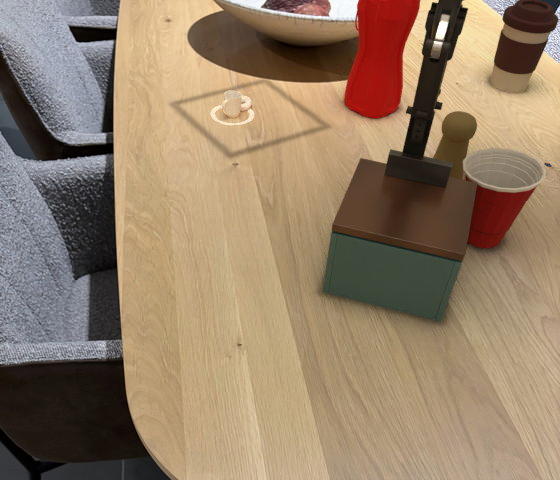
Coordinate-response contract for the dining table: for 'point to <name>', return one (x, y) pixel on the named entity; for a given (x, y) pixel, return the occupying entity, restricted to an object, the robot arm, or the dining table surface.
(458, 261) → the storage box
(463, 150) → the brown pawn
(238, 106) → the teacup and saucer
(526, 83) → the coffee cup
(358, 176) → the sliding lid
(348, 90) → the water bottle
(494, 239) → the plastic cup
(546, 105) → the dining table surface
